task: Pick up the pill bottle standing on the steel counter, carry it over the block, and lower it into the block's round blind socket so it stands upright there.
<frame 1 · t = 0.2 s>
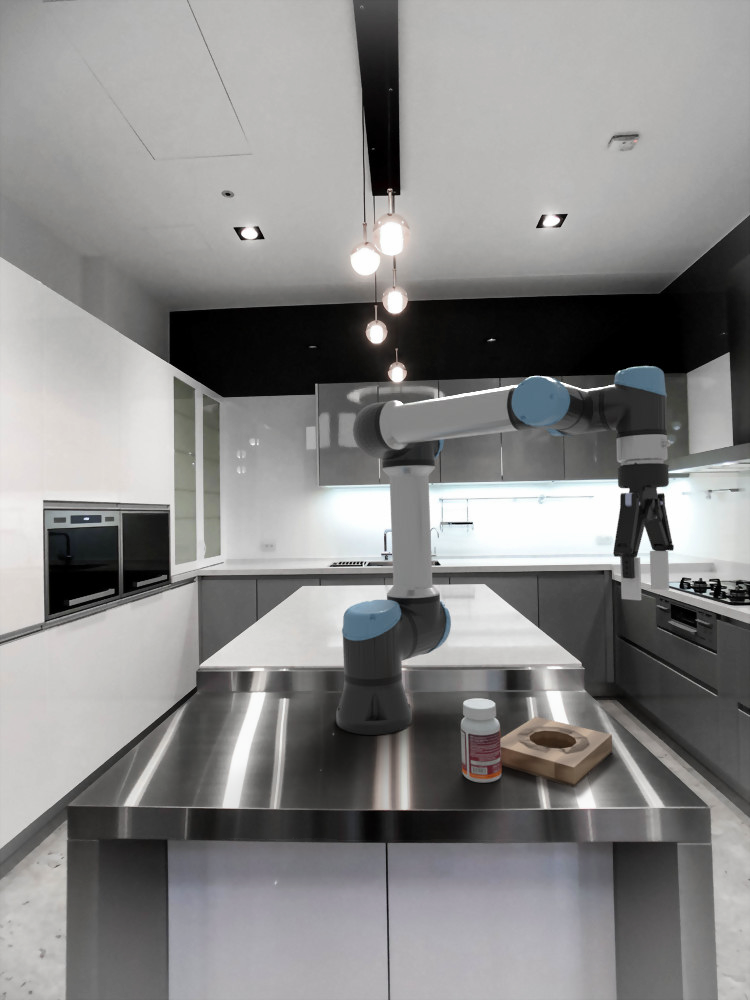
hand: (646, 594, 94), 28 cm above the countertop, fingers open, 13 cm apart
socket block: (553, 757, 97), on the countertop
pill bottle: (481, 776, 91), on the countertop
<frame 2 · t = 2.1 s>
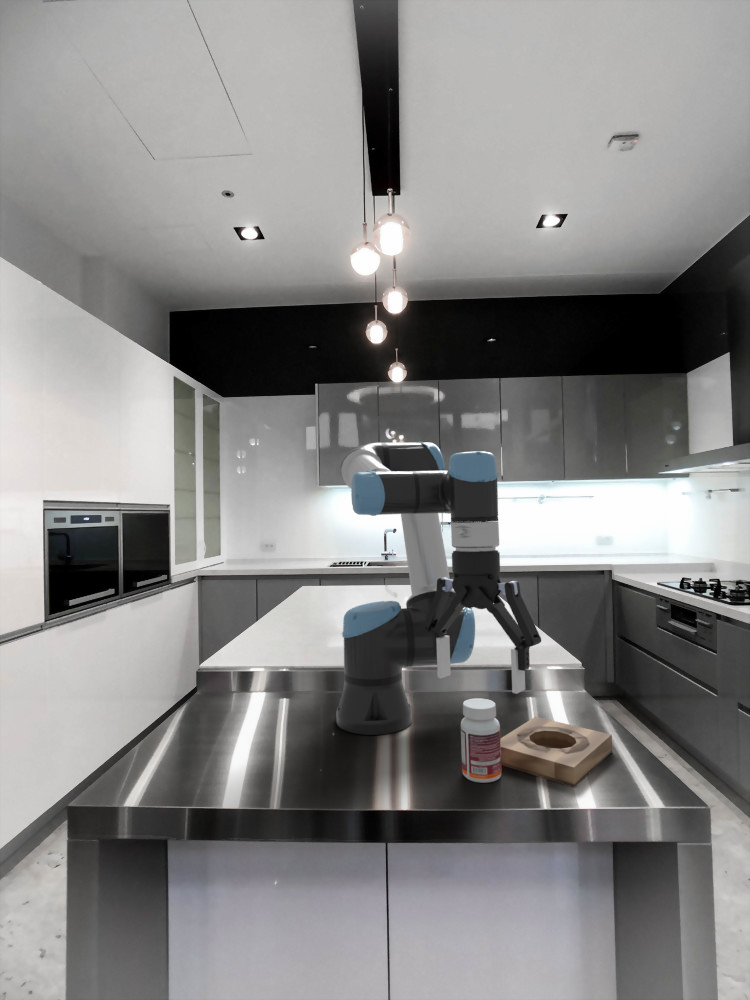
hand: (479, 683, 91), 14 cm above the countertop, fingers open, 13 cm apart
nothing on the countertop moved.
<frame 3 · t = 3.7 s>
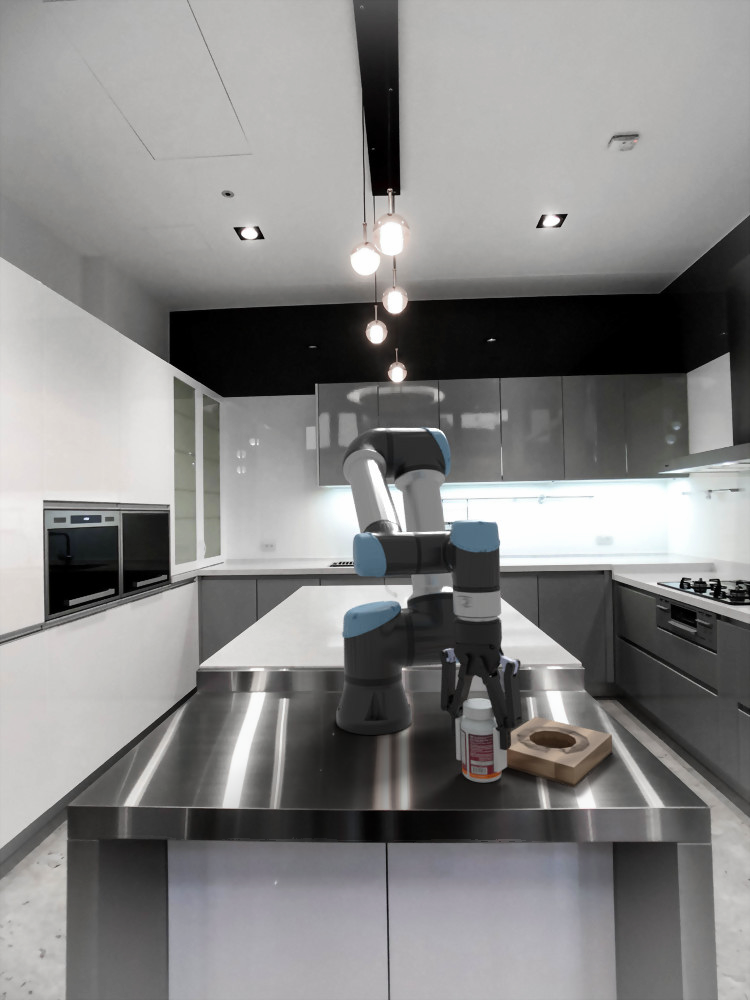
hand: (481, 762, 91), 2 cm above the countertop, fingers closed on pill bottle, 6 cm apart
pill bottle: (481, 776, 91), on the countertop, touching gripper
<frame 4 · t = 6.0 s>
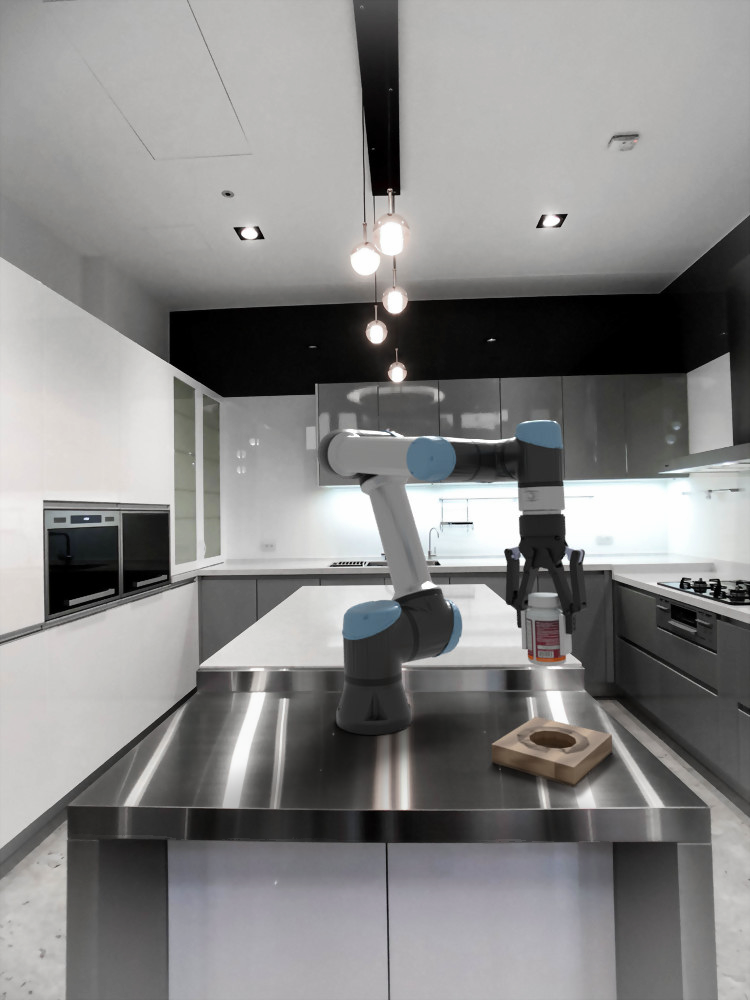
hand: (546, 650, 97), 18 cm above the countertop, fingers closed on pill bottle, 6 cm apart
pill bottle: (546, 663, 97), point 16 cm above the countertop, touching gripper
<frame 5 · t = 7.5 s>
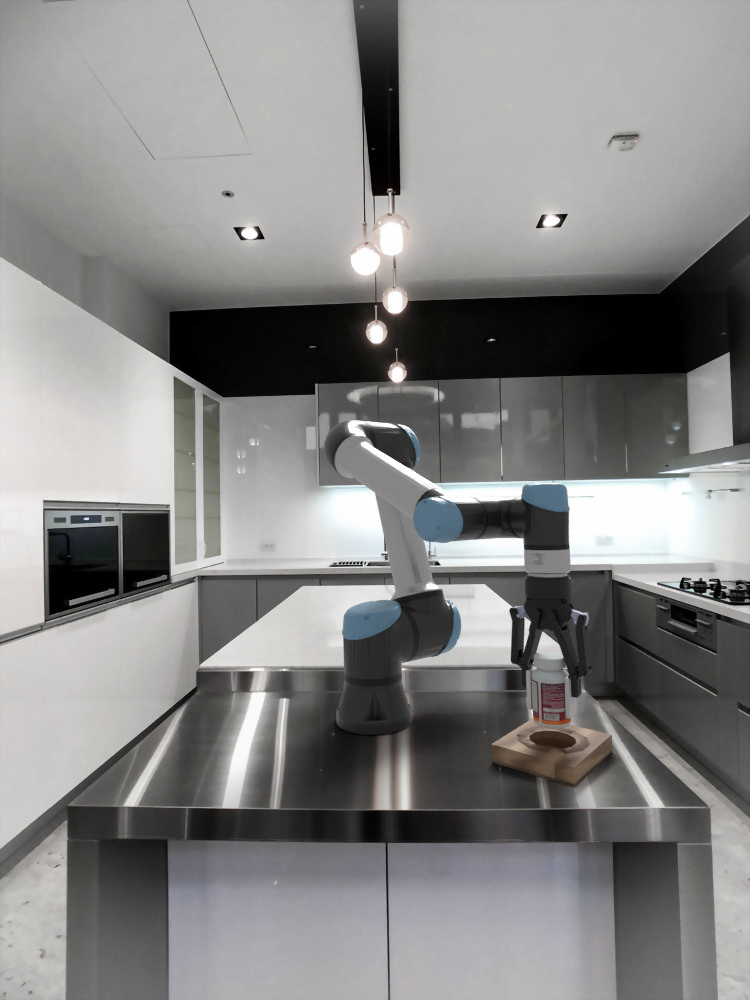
hand: (551, 711, 97), 8 cm above the countertop, fingers closed on pill bottle, 6 cm apart
pill bottle: (551, 724, 97), point 6 cm above the countertop, touching gripper
when the fingers open (4 cm above the countertop, at t = 8.6 s): pill bottle drops 1 cm, resting on socket block.
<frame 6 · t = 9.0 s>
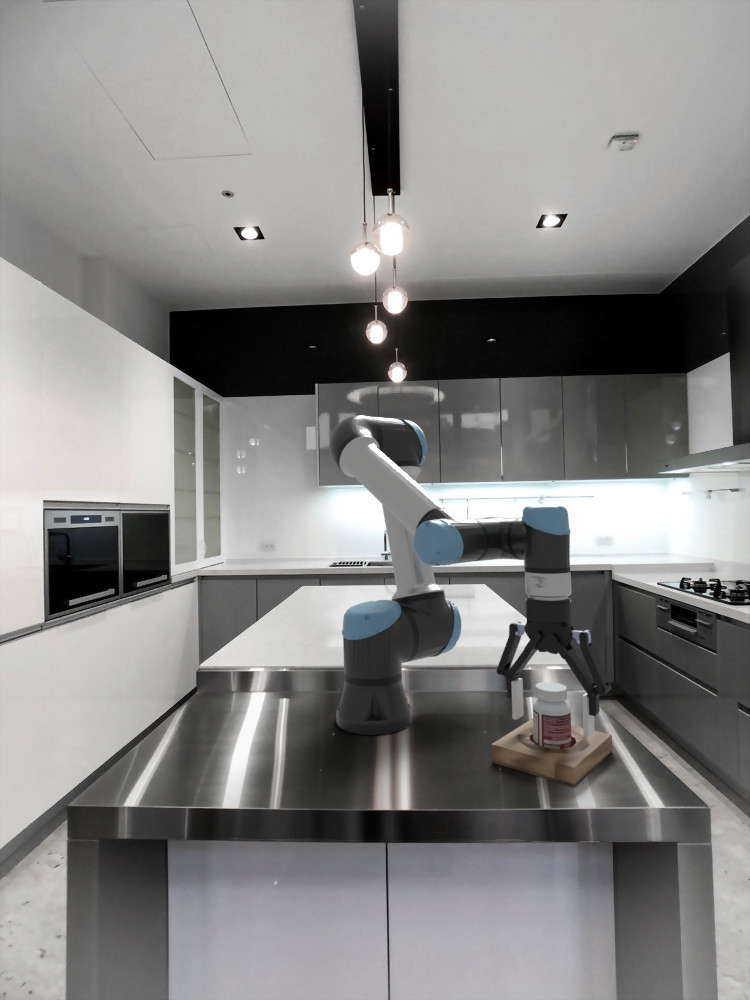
hand: (552, 725, 97), 5 cm above the countertop, fingers open, 12 cm apart
pill bottle: (552, 755, 97), resting on socket block
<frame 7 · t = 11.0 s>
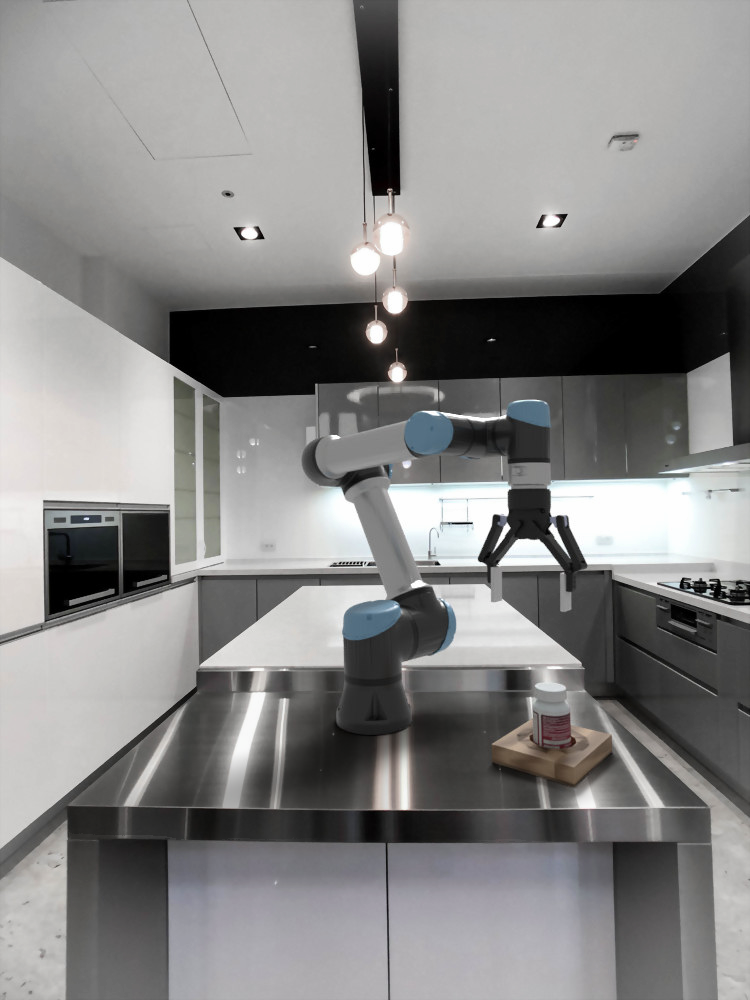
hand: (529, 605, 104), 24 cm above the countertop, fingers open, 13 cm apart
nothing on the countertop moved.
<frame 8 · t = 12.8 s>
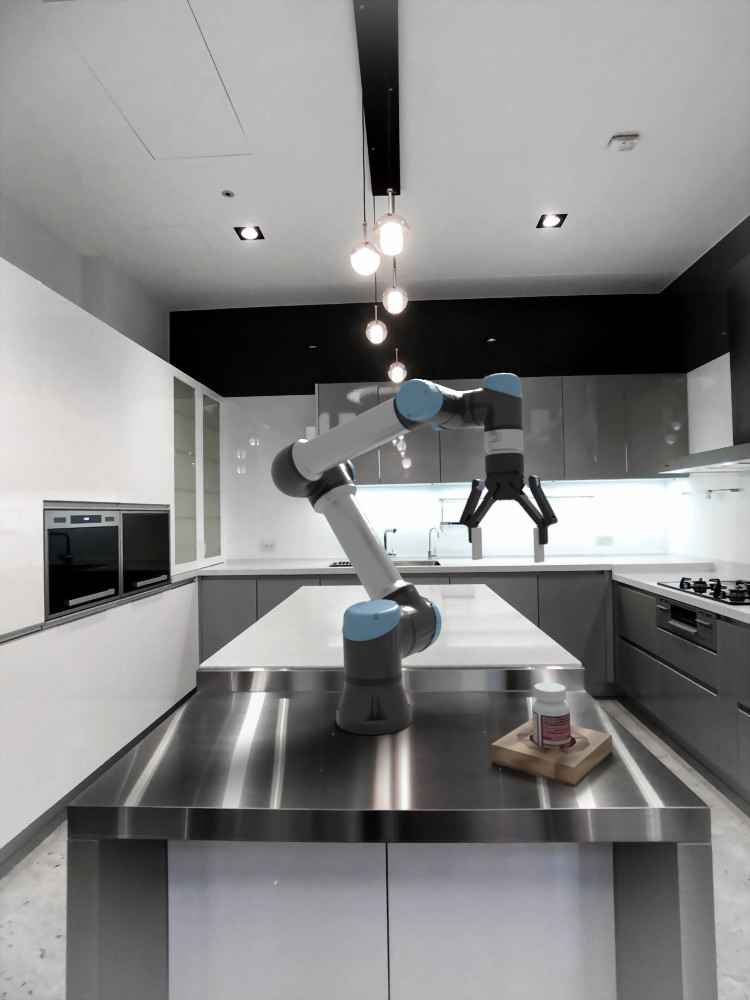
hand: (507, 560, 114), 32 cm above the countertop, fingers open, 13 cm apart
nothing on the countertop moved.
at the end: pill bottle 0.1 cm off-centre on the socket block, point 0.3 cm above the socket block's base; pill bottle tilted 0°; the gripper is holding nothing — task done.
